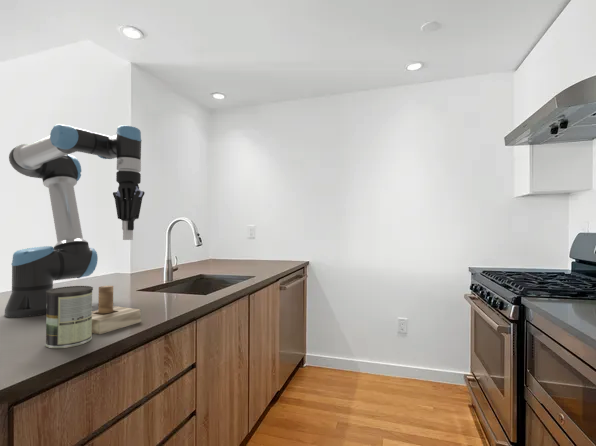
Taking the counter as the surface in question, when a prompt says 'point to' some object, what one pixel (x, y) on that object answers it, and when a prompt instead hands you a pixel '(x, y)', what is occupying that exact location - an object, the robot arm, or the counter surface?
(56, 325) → the coffee can
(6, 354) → the counter surface
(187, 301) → the counter surface
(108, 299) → the oak peg
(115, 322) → the maple block
